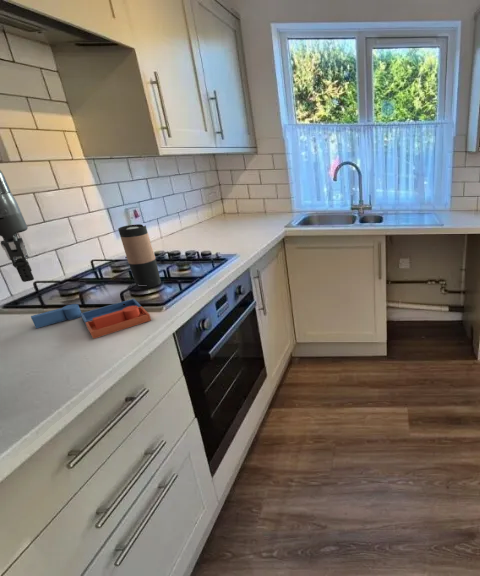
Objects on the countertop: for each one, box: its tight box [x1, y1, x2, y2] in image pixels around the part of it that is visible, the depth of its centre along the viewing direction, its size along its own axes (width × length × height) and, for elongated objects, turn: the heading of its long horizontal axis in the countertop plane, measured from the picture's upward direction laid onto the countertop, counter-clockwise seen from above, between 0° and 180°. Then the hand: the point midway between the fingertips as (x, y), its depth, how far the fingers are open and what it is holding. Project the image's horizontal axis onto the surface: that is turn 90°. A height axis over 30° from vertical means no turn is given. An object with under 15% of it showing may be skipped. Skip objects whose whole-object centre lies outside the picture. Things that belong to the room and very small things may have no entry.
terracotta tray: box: [85, 305, 152, 339], centre depth 96 cm, size 13×8×2 cm, turn 136°
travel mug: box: [117, 223, 162, 290], centre depth 119 cm, size 8×8×20 cm
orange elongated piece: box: [92, 306, 141, 329], centre depth 96 cm, size 10×4×3 cm, turn 136°
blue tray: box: [80, 298, 142, 328], centre depth 102 cm, size 13×8×2 cm, turn 136°
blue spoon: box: [30, 303, 82, 329], centre depth 99 cm, size 10×4×3 cm, turn 136°
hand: (27, 276), depth 92 cm, fingers open, 8 cm apart
